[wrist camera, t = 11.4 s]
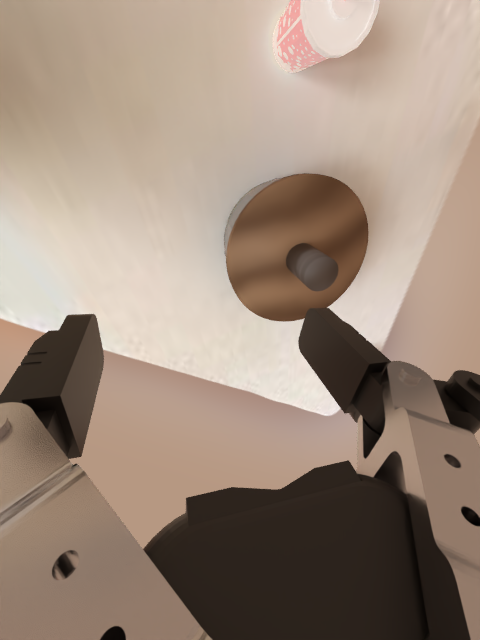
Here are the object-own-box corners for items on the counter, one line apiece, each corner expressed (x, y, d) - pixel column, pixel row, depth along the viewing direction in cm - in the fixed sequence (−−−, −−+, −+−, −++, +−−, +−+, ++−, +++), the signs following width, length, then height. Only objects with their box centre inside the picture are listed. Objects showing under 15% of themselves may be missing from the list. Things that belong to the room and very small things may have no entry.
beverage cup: (323, 74, 28) (432, 17, 16) (270, 89, 28) (343, 41, 16) (320, -11, 25) (455, -159, 13) (259, 4, 24) (342, -134, 13)
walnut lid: (198, 221, 26) (206, 236, 21) (350, 141, 26) (396, 138, 21) (257, 336, 36) (272, 366, 31) (368, 280, 35) (402, 301, 30)
